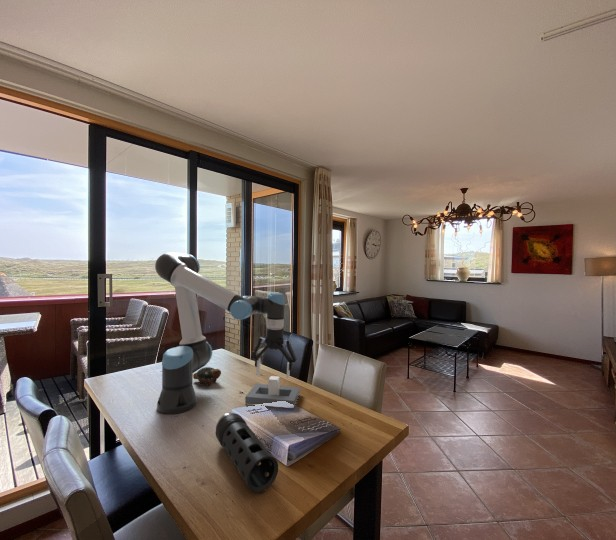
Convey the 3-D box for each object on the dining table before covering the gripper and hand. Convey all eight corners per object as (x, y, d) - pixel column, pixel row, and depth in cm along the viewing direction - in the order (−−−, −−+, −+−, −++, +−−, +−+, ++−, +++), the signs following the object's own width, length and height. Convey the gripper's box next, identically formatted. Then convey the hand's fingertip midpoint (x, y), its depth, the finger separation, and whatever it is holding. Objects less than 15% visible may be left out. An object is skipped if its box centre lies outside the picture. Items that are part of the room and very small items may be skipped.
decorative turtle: (217, 388, 142) (216, 372, 142) (188, 387, 145) (187, 371, 144) (226, 379, 152) (225, 364, 151) (199, 379, 154) (197, 364, 154)
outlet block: (245, 404, 126) (245, 396, 126) (255, 390, 140) (255, 383, 140) (293, 409, 123) (293, 400, 123) (299, 394, 137) (299, 387, 137)
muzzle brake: (245, 503, 75) (246, 462, 75) (213, 445, 98) (213, 414, 98) (279, 488, 80) (279, 450, 80) (240, 436, 103) (241, 407, 103)
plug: (270, 395, 135) (271, 375, 134) (279, 396, 134) (279, 376, 134) (268, 399, 131) (268, 379, 130) (276, 400, 130) (277, 380, 130)
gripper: (244, 327, 129) (243, 375, 130) (301, 332, 126) (299, 381, 126) (250, 324, 137) (248, 369, 137) (304, 328, 133) (302, 375, 134)
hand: (273, 375), depth 132 cm, fingers open, 13 cm apart
